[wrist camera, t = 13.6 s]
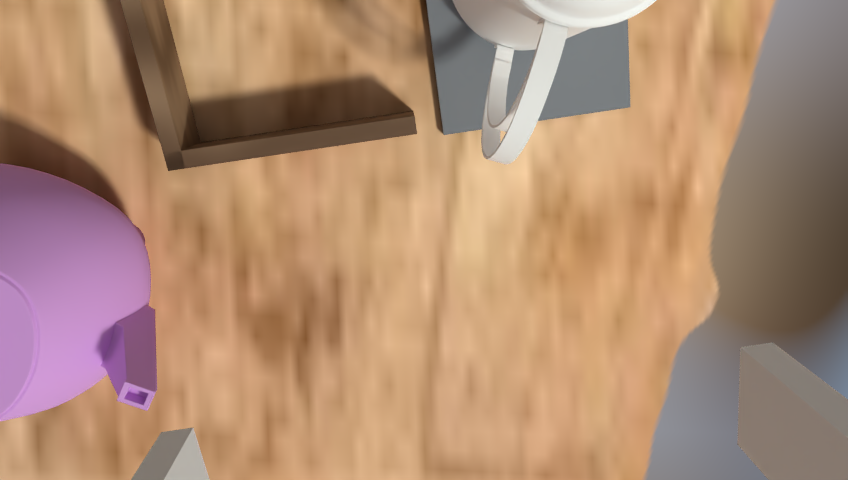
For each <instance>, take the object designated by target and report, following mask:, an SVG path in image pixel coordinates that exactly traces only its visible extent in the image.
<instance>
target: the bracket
mask: <svg viewBox="0 0 848 480" xmlns="http://www.w3.org/2000/svg"><path fill="white" fill-rule="evenodd" d="M120 2H121V5H122V9H123V13H124V16H125V20H126V23H127V27H128V30H129V34H130V37H131V41H132V44H133V48H134V51H135V55H136V58H137V62H138V66H139V69H140V73H141V76H142V80H143V83H144V87H145V90H146V94H147V97H148V101H149V104H150V108H151V111H152V115H153V118H154V122H155V126H156V129H157V133H158V136H159V140H160V143H161V147H162V150H163V154H164V157H165V161H166V164H167V168H168V171H171V170H177V169H184V168H191V167H197V166H204V165H211V164H218V163H224V162H231V161H238V160H244V159H251V158H258V157H265V156H271V155H278V154H285V153H291V152H298V151H305V150H312V149H318V148H325V147H332V146H339V145H345V144H352V143H359V142H365V141H372V140H379V139H386V138H392V137H399V136H406V135H412V134H417V131H416V124H415V117H414V113H413V111H410V112H403V113H396V114H390V115H383V116H376V117H370V118H363V119H356V120H349V121H343V122H336V123H329V124H323V125H316V126H309V127H302V128H296V129H289V130H282V131H276V132H269V133H262V134H255V135H249V136H242V137H235V138H229V139H222V140H215V141H209V142H202V143H201V142H200V139H199V135H198V131H197V127H196V123H195V120H194V116H193V112H192V108H191V104H190V100H189V97H188V93H187V89H186V85H185V81H184V78H183V74H182V70H181V66H180V62H179V58H178V55H177V51H176V47H175V43H174V39H173V35H172V32H171V28H170V24H169V20H168V16H167V13H166V9H165V5H164V1H163V0H120Z"/></svg>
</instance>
